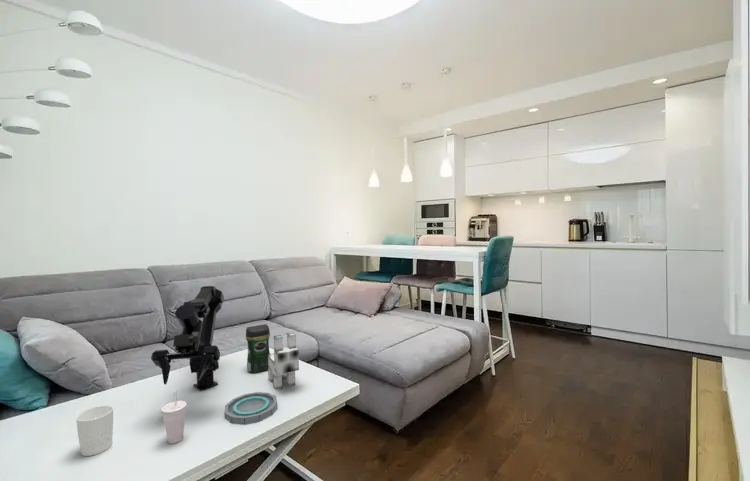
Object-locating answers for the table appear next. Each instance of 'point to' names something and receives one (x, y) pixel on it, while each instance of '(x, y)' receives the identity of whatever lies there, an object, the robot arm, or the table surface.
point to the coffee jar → (257, 348)
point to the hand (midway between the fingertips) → (181, 382)
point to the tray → (250, 408)
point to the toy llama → (283, 361)
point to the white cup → (95, 430)
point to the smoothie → (174, 419)
